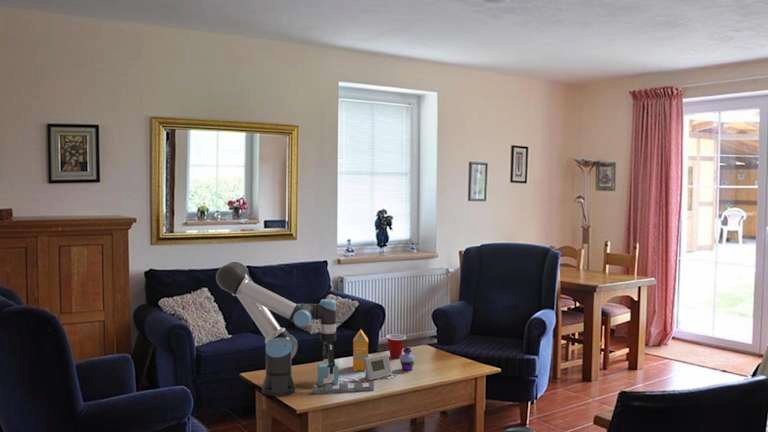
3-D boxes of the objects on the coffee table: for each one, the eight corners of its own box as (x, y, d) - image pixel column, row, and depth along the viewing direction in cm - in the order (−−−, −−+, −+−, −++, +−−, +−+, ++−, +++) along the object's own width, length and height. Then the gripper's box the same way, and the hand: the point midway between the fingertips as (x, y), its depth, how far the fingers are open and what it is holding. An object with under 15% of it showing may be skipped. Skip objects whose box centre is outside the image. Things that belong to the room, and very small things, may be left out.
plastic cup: (393, 361, 365) (393, 339, 365) (382, 356, 374) (382, 335, 374) (409, 358, 371) (409, 336, 371) (398, 354, 380) (398, 332, 380)
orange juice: (368, 366, 354) (368, 328, 353) (367, 371, 345) (368, 332, 344) (353, 366, 354) (353, 328, 353) (352, 370, 345) (353, 332, 344)
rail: (313, 394, 306) (313, 386, 305) (312, 392, 308) (312, 384, 308) (373, 390, 313) (373, 382, 312) (372, 388, 315) (372, 381, 315)
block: (319, 385, 318) (319, 366, 318) (317, 383, 323) (317, 364, 322) (337, 384, 321) (338, 365, 320) (336, 381, 325) (336, 363, 325)
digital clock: (368, 382, 326) (368, 360, 326) (358, 377, 334) (358, 356, 333) (396, 377, 335) (396, 356, 334) (386, 372, 342) (386, 352, 342)
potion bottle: (412, 372, 343) (412, 349, 342) (396, 370, 346) (396, 347, 345) (417, 368, 351) (418, 345, 350) (402, 366, 354) (402, 344, 353)
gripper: (341, 337, 310) (341, 383, 310) (331, 326, 334) (331, 368, 335) (324, 338, 308) (325, 384, 309) (316, 327, 332) (316, 369, 333)
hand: (328, 376), depth 322 cm, fingers open, 13 cm apart
